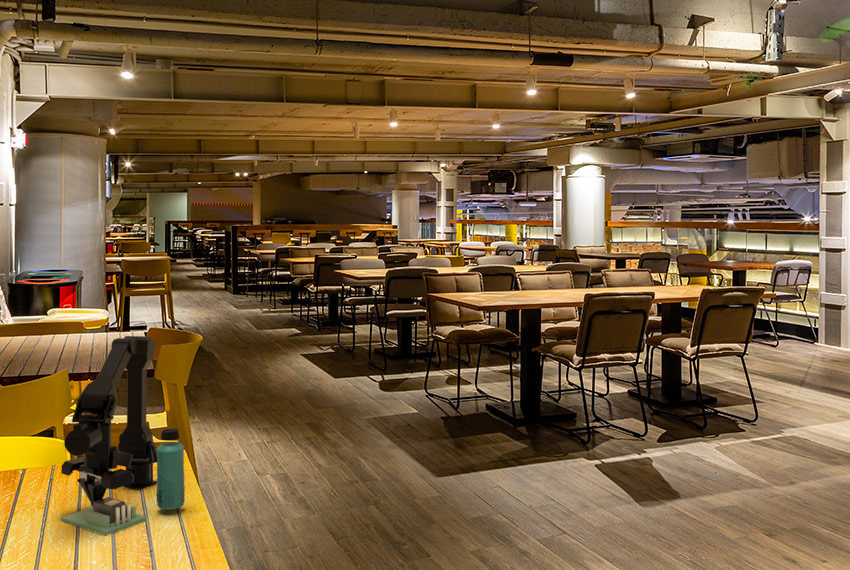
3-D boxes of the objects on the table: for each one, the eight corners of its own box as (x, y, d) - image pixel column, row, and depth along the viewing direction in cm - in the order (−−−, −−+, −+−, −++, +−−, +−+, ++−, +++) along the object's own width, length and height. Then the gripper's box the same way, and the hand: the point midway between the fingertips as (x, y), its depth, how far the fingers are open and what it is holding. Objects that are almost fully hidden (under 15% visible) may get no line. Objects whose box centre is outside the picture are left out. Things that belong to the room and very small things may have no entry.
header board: (60, 520, 177) (60, 500, 177) (101, 506, 187) (101, 487, 186) (105, 535, 169) (105, 514, 169) (146, 520, 179) (146, 499, 178)
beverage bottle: (190, 509, 186) (190, 428, 185) (170, 518, 180) (170, 434, 179) (170, 504, 189) (170, 424, 188) (150, 513, 183) (149, 430, 182)
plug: (93, 518, 177) (93, 501, 176) (108, 513, 180) (108, 496, 180) (110, 524, 174) (110, 506, 173) (125, 518, 177) (125, 501, 177)
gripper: (153, 442, 180) (151, 507, 181) (101, 429, 190) (100, 490, 191) (112, 453, 171) (111, 522, 172) (60, 438, 180) (59, 503, 181)
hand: (96, 508), depth 179 cm, fingers closed
